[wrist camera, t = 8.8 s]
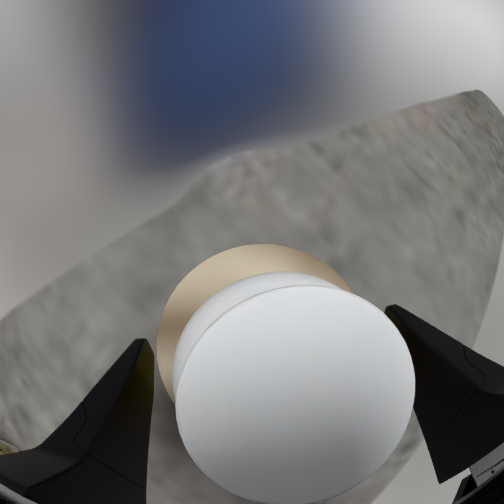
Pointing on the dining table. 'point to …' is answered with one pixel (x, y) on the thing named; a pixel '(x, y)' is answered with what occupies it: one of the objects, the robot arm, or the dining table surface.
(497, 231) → the dining table surface
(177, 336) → the round tan coaster
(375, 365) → the supplement bottle
